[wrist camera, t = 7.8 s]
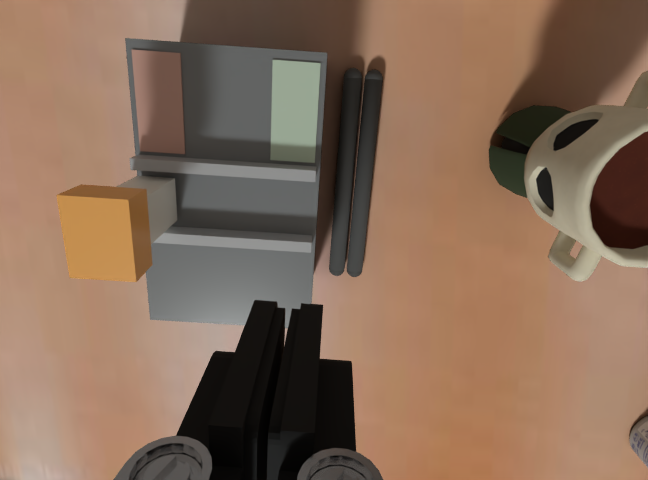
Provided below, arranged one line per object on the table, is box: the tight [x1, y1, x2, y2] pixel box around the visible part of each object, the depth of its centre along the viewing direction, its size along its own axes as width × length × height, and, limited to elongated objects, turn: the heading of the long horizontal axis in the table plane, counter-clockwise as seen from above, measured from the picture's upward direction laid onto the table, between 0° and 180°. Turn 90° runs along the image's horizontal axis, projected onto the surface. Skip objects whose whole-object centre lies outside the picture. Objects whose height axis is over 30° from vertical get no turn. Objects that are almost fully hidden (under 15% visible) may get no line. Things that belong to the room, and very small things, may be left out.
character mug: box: [489, 71, 648, 282], centre depth 25 cm, size 11×7×13 cm, turn 164°
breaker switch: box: [57, 176, 177, 282], centre depth 20 cm, size 4×3×7 cm
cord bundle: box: [329, 68, 383, 277], centre depth 31 cm, size 15×3×1 cm, turn 176°
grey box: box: [125, 38, 327, 328], centre depth 27 cm, size 16×10×9 cm, turn 176°
